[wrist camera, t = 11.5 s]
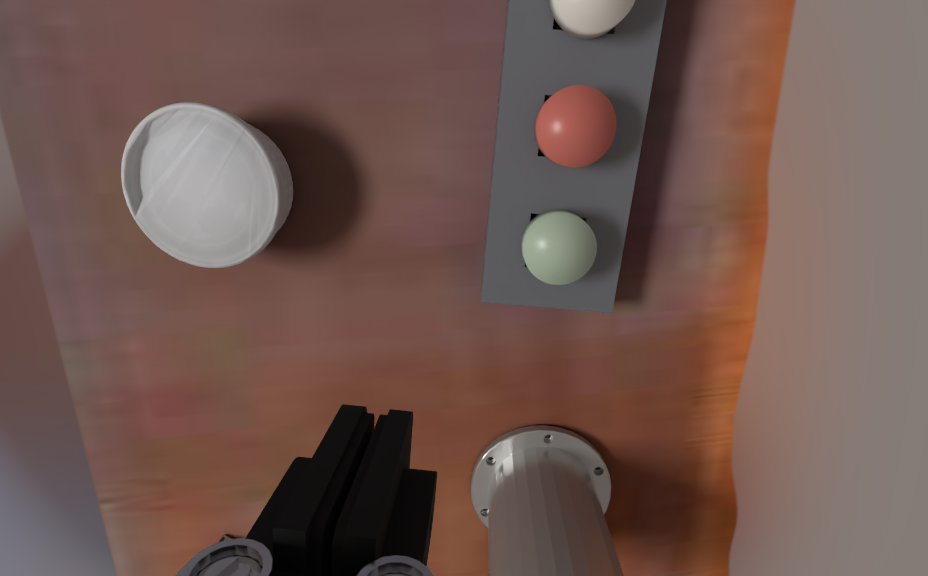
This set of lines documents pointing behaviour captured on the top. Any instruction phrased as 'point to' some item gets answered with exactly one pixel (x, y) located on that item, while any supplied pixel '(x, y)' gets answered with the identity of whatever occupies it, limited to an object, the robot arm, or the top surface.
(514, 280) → the button panel
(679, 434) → the top surface
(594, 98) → the button red
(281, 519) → the robot arm
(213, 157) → the ramekin
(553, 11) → the button cream
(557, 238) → the button sage
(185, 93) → the top surface
